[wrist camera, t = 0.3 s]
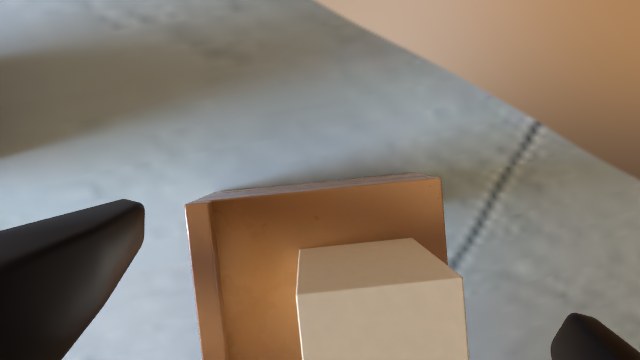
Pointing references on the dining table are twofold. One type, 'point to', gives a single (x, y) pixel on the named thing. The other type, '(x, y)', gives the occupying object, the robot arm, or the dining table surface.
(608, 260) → the dining table surface
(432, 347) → the cream block
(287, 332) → the shelf
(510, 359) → the dining table surface
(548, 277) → the dining table surface
